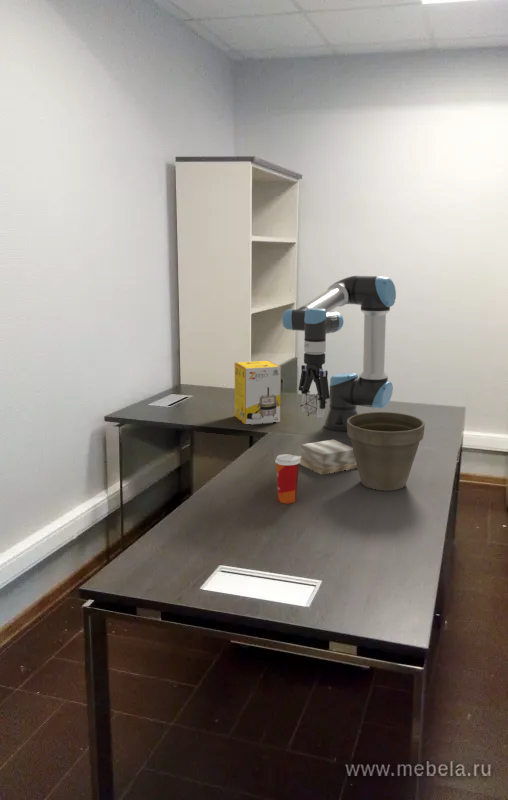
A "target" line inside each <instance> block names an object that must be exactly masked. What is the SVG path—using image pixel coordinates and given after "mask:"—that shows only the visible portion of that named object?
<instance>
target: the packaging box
mask: <svg viewBox="0 0 508 800" xmlns="http://www.w3.org/2000/svg"><path fill="white" fill-rule="evenodd" d="M281 380H282V366H280V365H279V364H276V363H274V362H272V361H269V360H260V361H259V360H258V361H256V360H255V361H239V362H234V417H235V418H236V417H237V418H236V419H237V420H239V421H240V420H241V421H242V422H241V421H240V422H241V423H242V424H244V425H245V424H251V425H263V424H273V422H276V423H281V405H282V404H281V403H282V402H281V400H282V397H281V396H282V391H281V389H282V386H281V385H282V383H281V382H282V381H281ZM262 423H263V424H262Z"/></svg>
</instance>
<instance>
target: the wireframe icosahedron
mask: <svg viewBox="0 0 508 800" xmlns="http://www.w3.org/2000/svg"><path fill="white" fill-rule="evenodd" d="M305 394H306V393H305ZM318 398H319V396H318V393H313V394H309V395H307V394H306V397H305V400H304V402H303V404H300V406H299V407H302V406H303V408H304V409H305V410H306V411H305V412H306V413H307V417H309V416H310V415H317V404H318ZM327 403H328V402H327V401H326V402H325V404H327Z"/></svg>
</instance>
